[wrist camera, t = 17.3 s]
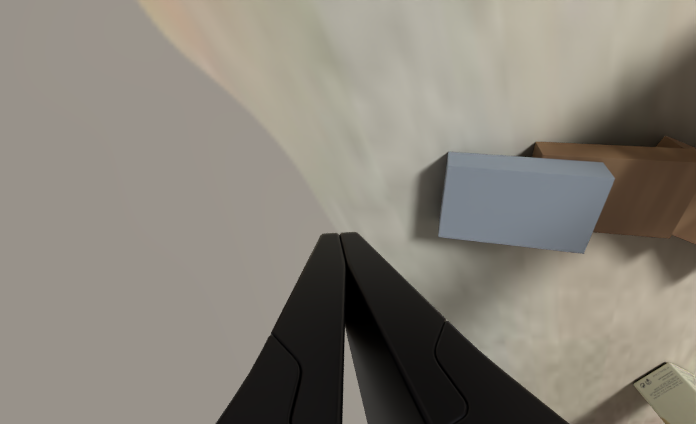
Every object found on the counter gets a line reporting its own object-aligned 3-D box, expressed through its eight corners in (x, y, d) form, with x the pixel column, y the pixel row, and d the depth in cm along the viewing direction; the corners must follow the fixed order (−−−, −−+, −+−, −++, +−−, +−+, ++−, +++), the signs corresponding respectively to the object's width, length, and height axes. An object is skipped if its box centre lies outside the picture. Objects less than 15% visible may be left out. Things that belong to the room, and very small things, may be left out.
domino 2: (535, 141, 22) (692, 148, 20) (517, 210, 24) (654, 220, 23) (542, 154, 20) (712, 163, 19) (522, 226, 23) (669, 238, 22)
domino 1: (448, 151, 21) (603, 162, 20) (439, 220, 24) (575, 234, 22) (447, 165, 20) (615, 178, 18) (438, 236, 23) (583, 253, 21)
